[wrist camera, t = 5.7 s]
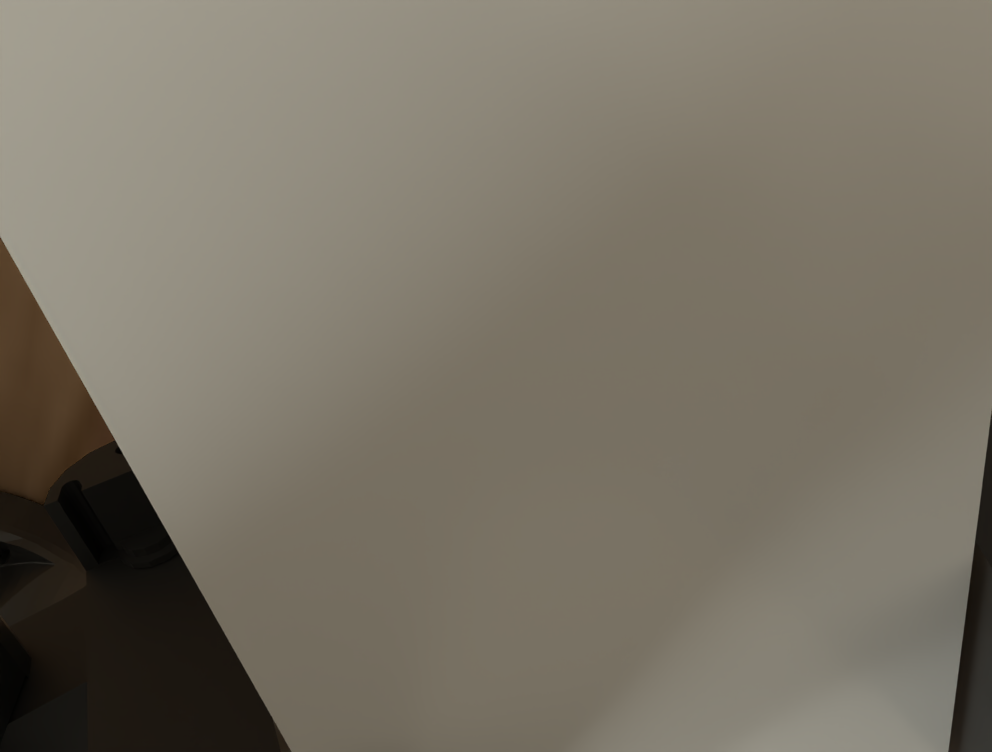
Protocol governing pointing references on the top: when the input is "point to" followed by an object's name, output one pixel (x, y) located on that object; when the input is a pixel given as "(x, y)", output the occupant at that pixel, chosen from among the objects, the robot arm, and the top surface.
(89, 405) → the top surface
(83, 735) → the robot arm
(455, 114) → the clay block
